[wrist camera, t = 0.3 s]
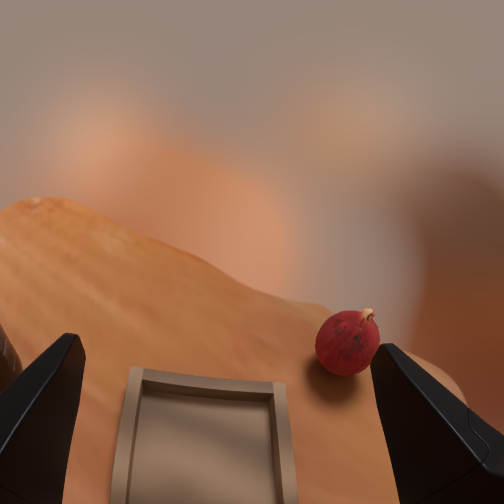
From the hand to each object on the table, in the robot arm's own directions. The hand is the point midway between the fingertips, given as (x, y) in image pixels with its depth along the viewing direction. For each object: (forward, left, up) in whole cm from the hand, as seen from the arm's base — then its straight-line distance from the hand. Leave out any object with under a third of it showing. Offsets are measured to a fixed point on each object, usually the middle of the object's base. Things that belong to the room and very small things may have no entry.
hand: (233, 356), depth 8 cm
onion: (+11, -13, -17) cm, 23 cm away
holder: (-4, -1, -16) cm, 17 cm away
